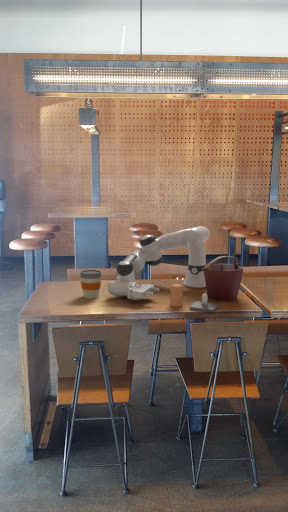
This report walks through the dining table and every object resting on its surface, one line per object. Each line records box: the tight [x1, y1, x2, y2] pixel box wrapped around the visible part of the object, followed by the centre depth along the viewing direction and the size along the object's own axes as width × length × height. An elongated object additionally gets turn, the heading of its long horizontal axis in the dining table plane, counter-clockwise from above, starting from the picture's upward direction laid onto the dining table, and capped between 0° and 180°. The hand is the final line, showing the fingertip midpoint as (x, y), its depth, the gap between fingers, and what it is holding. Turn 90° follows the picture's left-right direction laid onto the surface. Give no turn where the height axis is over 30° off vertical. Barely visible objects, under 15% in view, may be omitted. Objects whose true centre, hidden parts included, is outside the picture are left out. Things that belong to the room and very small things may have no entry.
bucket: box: [204, 255, 244, 302], centre depth 266 cm, size 24×22×25 cm
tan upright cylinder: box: [169, 283, 184, 307], centre depth 252 cm, size 7×7×11 cm
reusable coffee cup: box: [79, 269, 102, 299], centre depth 269 cm, size 13×13×15 cm
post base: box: [189, 293, 220, 313], centre depth 246 cm, size 13×13×8 cm
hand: (156, 292), depth 256 cm, fingers open, 8 cm apart
